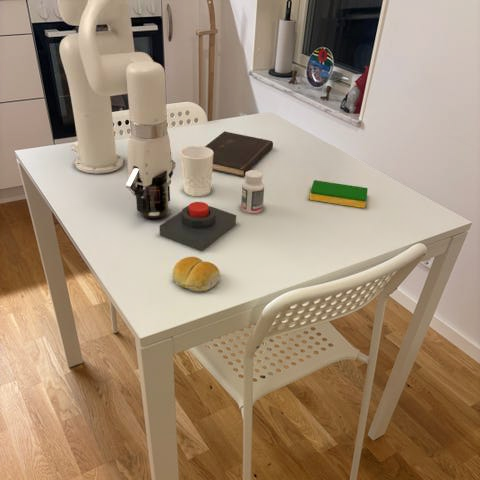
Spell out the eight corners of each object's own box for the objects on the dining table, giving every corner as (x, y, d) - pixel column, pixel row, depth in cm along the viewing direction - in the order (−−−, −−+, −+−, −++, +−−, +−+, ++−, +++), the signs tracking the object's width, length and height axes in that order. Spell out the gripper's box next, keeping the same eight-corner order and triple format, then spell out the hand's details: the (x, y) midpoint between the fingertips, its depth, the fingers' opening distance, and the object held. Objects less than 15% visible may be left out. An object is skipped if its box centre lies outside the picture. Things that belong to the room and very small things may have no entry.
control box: (159, 235, 112) (158, 217, 110) (196, 211, 122) (196, 193, 119) (201, 251, 108) (201, 232, 106) (235, 224, 118) (236, 206, 115)
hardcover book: (190, 165, 142) (190, 157, 140) (224, 138, 158) (224, 131, 157) (244, 177, 137) (244, 169, 136) (272, 148, 154) (273, 141, 153)
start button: (184, 214, 112) (184, 207, 111) (196, 207, 115) (196, 199, 114) (201, 220, 110) (201, 213, 109) (212, 212, 113) (212, 205, 112)
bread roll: (189, 262, 105) (189, 245, 102) (225, 278, 101) (226, 261, 99) (163, 281, 99) (162, 264, 97) (200, 298, 96) (200, 280, 93)
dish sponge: (312, 188, 135) (314, 179, 133) (365, 196, 133) (367, 187, 131) (309, 200, 129) (310, 191, 128) (364, 208, 127) (366, 199, 126)
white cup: (208, 199, 127) (209, 160, 120) (177, 195, 128) (176, 156, 121) (215, 186, 133) (216, 148, 126) (186, 182, 134) (185, 144, 127)
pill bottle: (265, 206, 126) (268, 171, 120) (258, 215, 122) (261, 180, 116) (244, 201, 127) (246, 167, 121) (237, 211, 123) (239, 175, 117)
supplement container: (167, 206, 123) (165, 164, 116) (170, 220, 118) (169, 177, 111) (138, 208, 121) (135, 166, 115) (141, 222, 116) (137, 179, 110)
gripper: (160, 113, 114) (164, 188, 126) (106, 135, 102) (115, 216, 114) (188, 120, 111) (189, 196, 123) (135, 144, 100) (142, 226, 111)
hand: (153, 205), depth 118 cm, fingers closed on supplement container, 6 cm apart
